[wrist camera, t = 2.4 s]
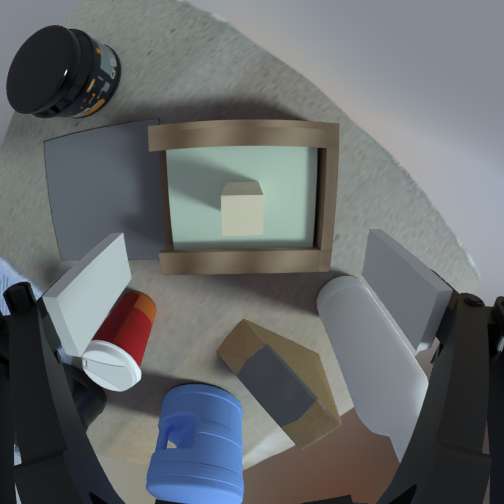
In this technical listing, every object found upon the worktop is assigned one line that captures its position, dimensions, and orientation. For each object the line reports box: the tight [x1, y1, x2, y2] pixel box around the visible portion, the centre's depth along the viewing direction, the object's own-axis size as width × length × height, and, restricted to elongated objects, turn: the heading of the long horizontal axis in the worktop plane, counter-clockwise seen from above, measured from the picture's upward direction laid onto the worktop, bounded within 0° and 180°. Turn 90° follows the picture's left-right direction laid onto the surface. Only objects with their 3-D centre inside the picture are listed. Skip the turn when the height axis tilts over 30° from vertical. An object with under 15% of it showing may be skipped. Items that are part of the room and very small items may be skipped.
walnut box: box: [148, 119, 339, 275], centre depth 30 cm, size 18×15×7 cm
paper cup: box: [82, 291, 156, 391], centre depth 33 cm, size 8×8×14 cm
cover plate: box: [166, 146, 318, 250], centre depth 25 cm, size 15×13×8 cm
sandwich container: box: [217, 319, 341, 450], centre depth 37 cm, size 9×15×15 cm, turn 57°
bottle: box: [316, 276, 428, 463], centre depth 26 cm, size 8×8×30 cm
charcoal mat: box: [44, 119, 167, 260], centre depth 33 cm, size 18×18×1 cm
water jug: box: [146, 384, 244, 504], centre depth 36 cm, size 16×16×28 cm
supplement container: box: [6, 25, 121, 118], centre depth 21 cm, size 10×10×12 cm
